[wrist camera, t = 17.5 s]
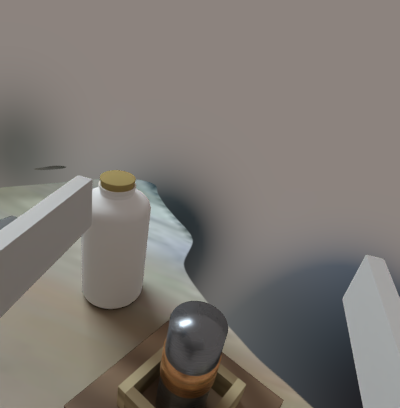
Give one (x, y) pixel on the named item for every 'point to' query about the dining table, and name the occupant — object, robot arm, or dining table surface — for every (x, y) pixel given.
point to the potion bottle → (115, 242)
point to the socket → (150, 374)
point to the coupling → (191, 355)
